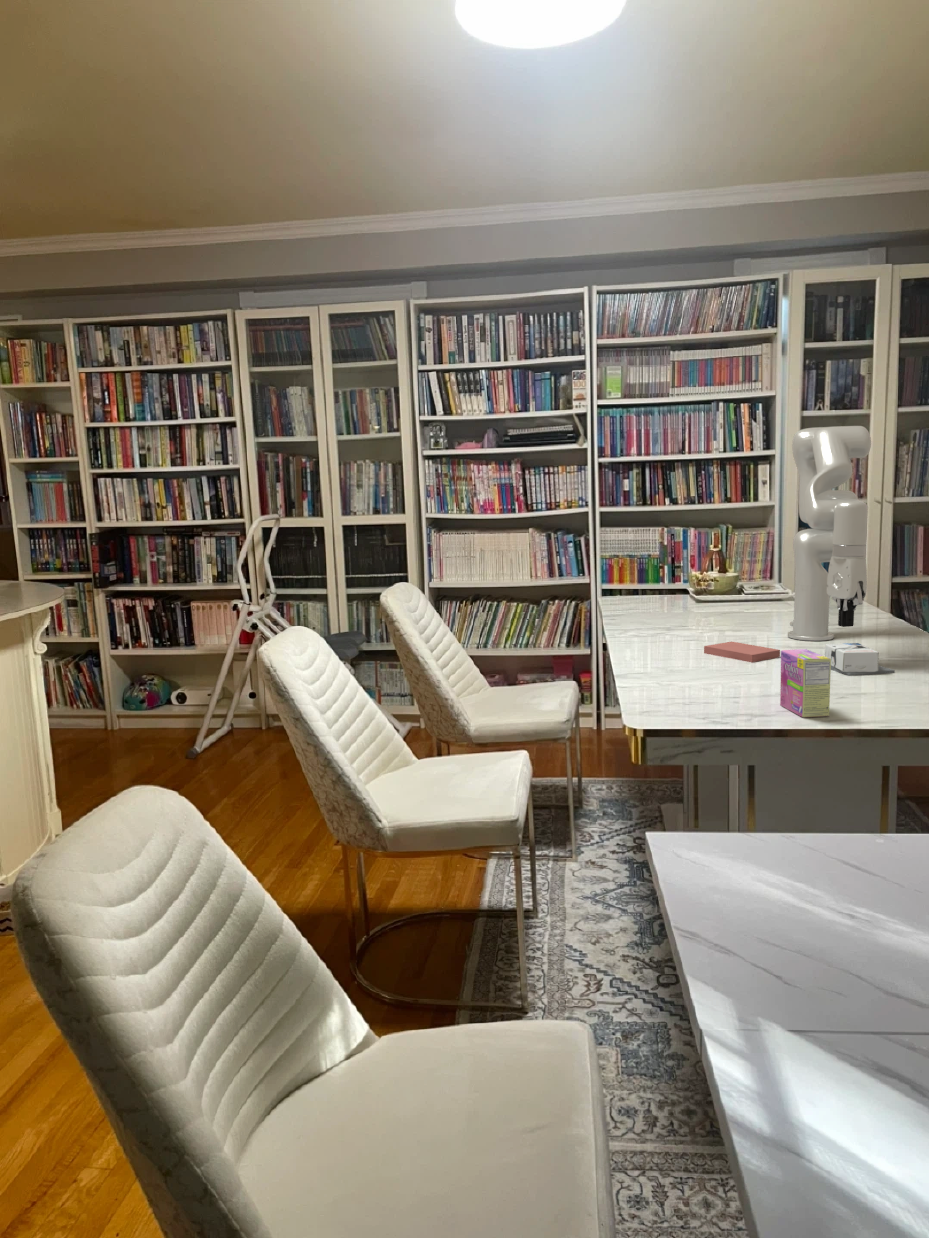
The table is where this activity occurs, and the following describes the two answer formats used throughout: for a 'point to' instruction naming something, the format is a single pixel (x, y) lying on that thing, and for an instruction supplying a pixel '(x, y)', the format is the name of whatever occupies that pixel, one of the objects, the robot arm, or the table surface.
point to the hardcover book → (742, 651)
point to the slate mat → (880, 671)
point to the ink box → (852, 657)
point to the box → (805, 682)
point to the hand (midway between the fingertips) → (845, 625)
